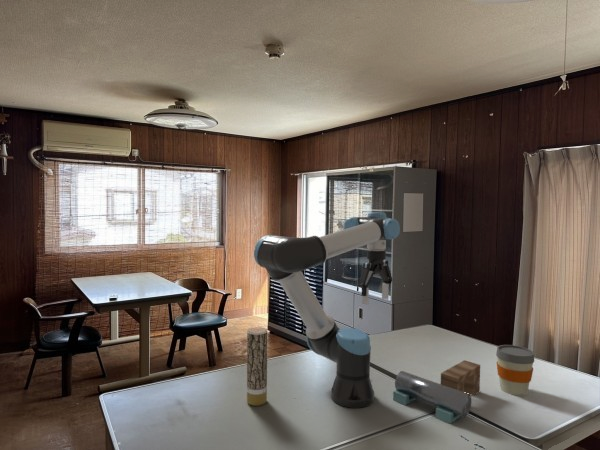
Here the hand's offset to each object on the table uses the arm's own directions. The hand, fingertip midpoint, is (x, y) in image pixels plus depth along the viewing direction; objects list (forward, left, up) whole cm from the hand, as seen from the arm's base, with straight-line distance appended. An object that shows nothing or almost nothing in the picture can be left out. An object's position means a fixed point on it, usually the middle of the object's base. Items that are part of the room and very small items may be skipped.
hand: (375, 301), depth 167 cm
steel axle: (-12, -32, -27) cm, 44 cm away
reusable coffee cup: (+24, -46, -29) cm, 59 cm away
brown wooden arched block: (+4, -35, -29) cm, 45 cm away
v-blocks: (-12, -31, -29) cm, 44 cm away
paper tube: (-53, +10, -29) cm, 61 cm away
